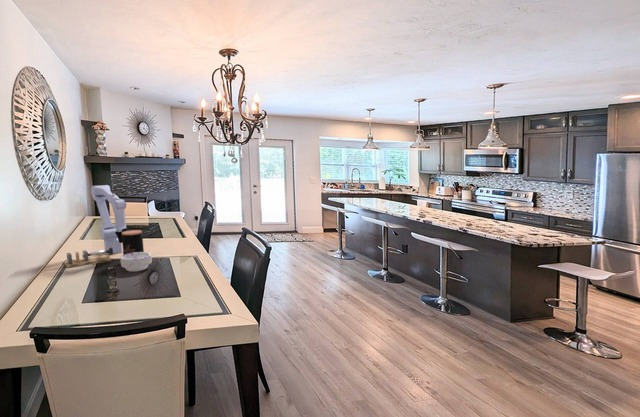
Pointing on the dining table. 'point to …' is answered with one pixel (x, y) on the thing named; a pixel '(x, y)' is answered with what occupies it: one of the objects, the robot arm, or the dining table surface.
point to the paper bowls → (136, 261)
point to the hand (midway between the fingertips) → (122, 241)
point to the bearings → (77, 257)
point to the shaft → (100, 252)
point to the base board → (91, 261)
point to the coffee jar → (132, 241)
